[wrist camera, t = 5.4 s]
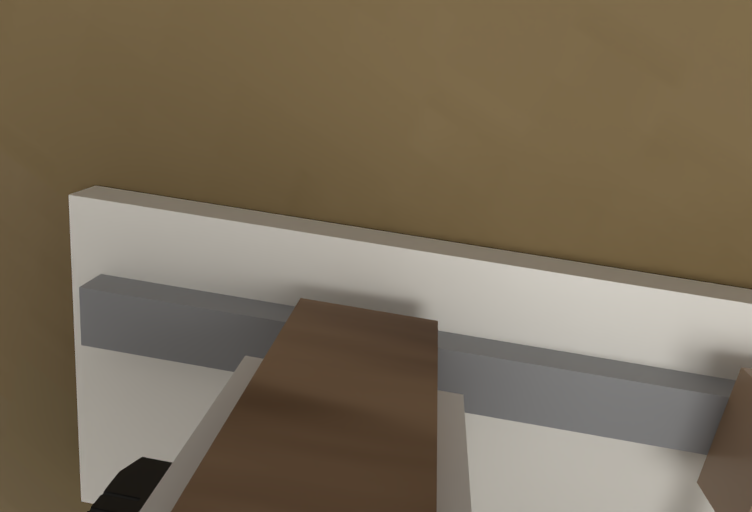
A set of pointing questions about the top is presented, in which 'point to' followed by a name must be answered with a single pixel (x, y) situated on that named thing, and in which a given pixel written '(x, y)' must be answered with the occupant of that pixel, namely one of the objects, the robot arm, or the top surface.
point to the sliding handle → (330, 420)
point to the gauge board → (455, 350)
